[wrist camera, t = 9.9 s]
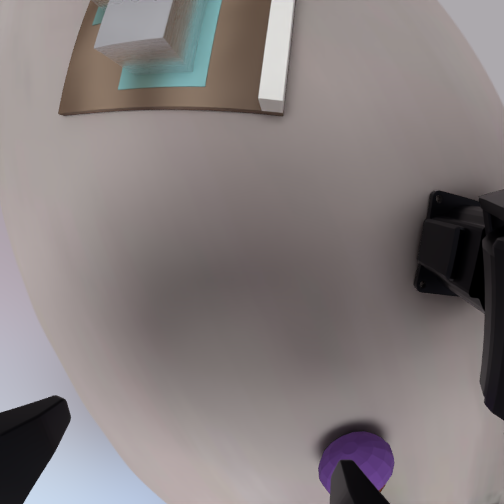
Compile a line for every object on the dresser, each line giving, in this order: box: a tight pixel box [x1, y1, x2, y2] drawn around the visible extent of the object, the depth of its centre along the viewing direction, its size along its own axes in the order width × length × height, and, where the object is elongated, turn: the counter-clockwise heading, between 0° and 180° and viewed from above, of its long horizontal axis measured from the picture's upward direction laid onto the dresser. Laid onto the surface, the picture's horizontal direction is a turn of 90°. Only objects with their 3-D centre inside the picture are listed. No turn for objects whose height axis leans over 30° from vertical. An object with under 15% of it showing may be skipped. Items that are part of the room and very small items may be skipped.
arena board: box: [58, 0, 296, 116], centre depth 15 cm, size 16×16×1 cm
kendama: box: [318, 431, 394, 494], centre depth 20 cm, size 6×6×20 cm
